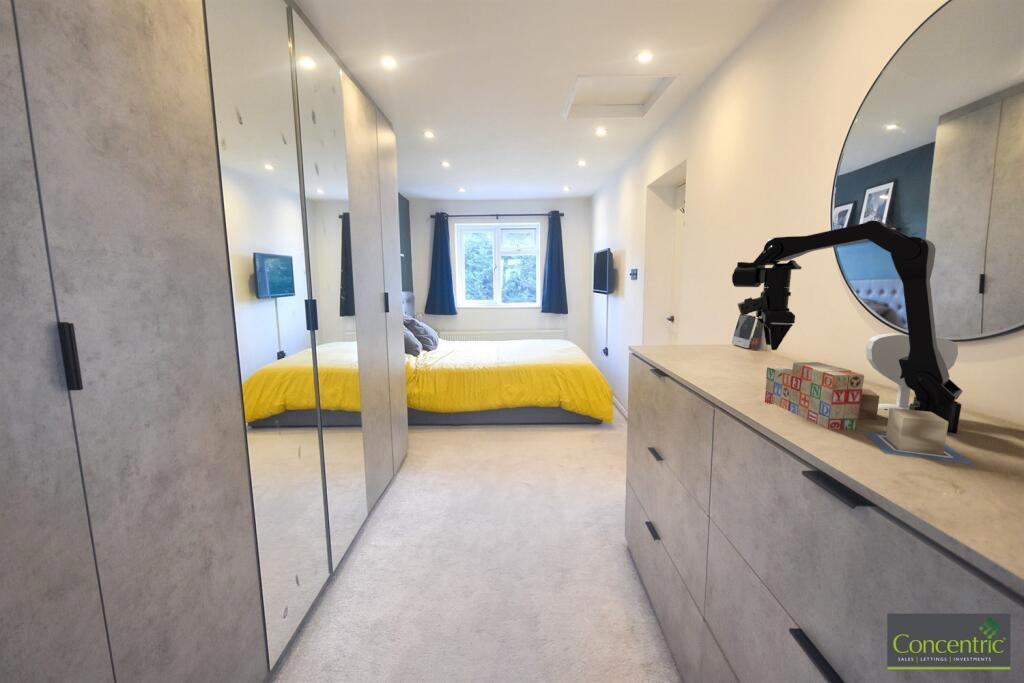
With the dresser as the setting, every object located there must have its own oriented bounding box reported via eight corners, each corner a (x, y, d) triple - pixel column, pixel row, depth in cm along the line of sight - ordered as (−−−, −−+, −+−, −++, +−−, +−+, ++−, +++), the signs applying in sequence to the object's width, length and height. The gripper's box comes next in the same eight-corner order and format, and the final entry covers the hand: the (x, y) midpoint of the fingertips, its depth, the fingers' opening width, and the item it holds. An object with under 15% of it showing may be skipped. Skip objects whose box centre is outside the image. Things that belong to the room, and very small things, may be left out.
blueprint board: (938, 442, 80) (939, 439, 80) (976, 468, 69) (977, 464, 69) (860, 433, 85) (860, 430, 84) (883, 456, 74) (884, 452, 74)
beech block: (926, 442, 78) (931, 411, 77) (943, 455, 73) (948, 422, 72) (885, 437, 81) (889, 407, 80) (898, 449, 75) (903, 417, 74)
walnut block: (866, 414, 97) (869, 389, 96) (875, 422, 91) (879, 395, 90) (834, 411, 99) (837, 386, 98) (842, 418, 94) (845, 392, 93)
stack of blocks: (763, 402, 106) (767, 354, 105) (787, 402, 107) (792, 354, 105) (827, 433, 85) (834, 374, 84) (857, 432, 85) (865, 373, 84)
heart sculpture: (938, 409, 100) (950, 335, 97) (950, 416, 95) (962, 337, 93) (857, 402, 106) (866, 331, 103) (865, 407, 101) (874, 334, 99)
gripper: (738, 286, 120) (733, 340, 122) (744, 288, 103) (739, 350, 105) (783, 287, 115) (778, 343, 118) (798, 288, 98) (791, 354, 101)
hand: (770, 347), depth 110 cm, fingers open, 9 cm apart
